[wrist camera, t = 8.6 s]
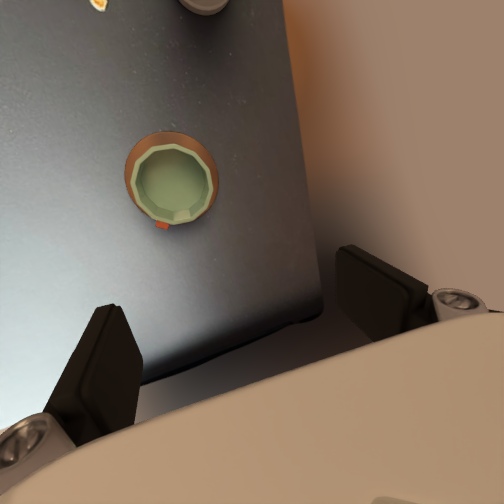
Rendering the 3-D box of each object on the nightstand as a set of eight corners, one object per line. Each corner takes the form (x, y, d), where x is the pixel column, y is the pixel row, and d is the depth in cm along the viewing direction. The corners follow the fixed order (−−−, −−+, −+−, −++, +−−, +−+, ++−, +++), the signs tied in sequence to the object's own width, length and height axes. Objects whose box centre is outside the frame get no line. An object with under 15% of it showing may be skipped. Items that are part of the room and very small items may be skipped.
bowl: (148, 134, 26) (142, 130, 21) (215, 161, 29) (222, 163, 24) (130, 206, 28) (121, 217, 23) (193, 226, 31) (197, 238, 26)
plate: (197, 118, 27) (198, 117, 27) (229, 204, 32) (230, 205, 31) (106, 150, 26) (104, 150, 25) (152, 235, 30) (152, 237, 30)
